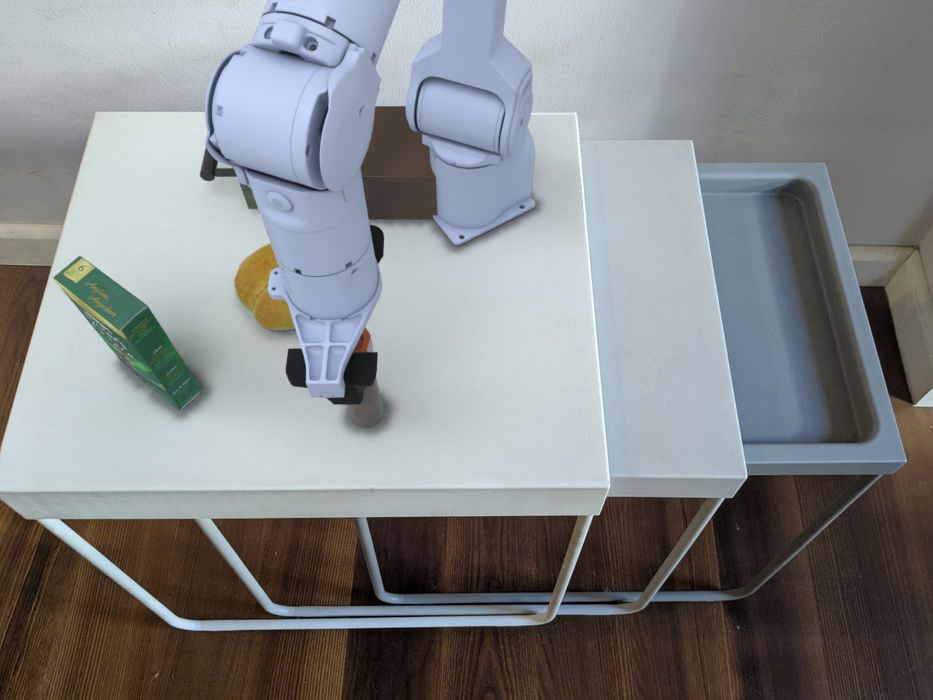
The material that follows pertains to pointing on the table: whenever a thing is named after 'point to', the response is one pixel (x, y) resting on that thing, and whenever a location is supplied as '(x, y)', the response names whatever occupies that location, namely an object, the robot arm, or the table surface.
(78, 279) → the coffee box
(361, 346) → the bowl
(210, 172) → the drawer
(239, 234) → the table surface
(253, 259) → the bread roll
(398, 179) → the cabinet
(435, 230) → the table surface
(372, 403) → the post stand
